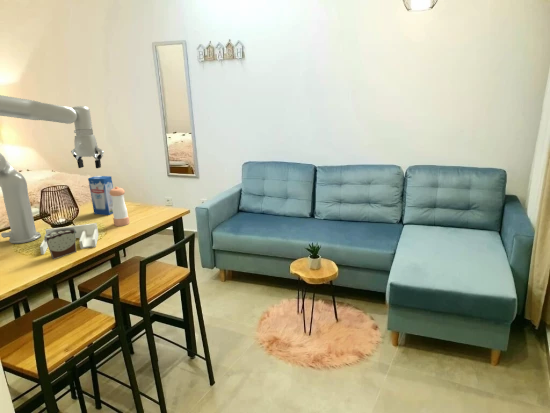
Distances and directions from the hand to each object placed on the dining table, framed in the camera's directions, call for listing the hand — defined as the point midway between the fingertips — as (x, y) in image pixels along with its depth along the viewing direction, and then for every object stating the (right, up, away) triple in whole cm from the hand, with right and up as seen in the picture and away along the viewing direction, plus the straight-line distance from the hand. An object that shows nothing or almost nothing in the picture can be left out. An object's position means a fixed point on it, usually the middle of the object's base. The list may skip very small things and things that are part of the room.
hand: (89, 167), depth 201 cm
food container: (+3, -39, -31) cm, 50 cm away
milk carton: (-2, -23, +23) cm, 32 cm away
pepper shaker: (+15, -28, +4) cm, 32 cm away
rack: (+2, -36, -21) cm, 42 cm away
